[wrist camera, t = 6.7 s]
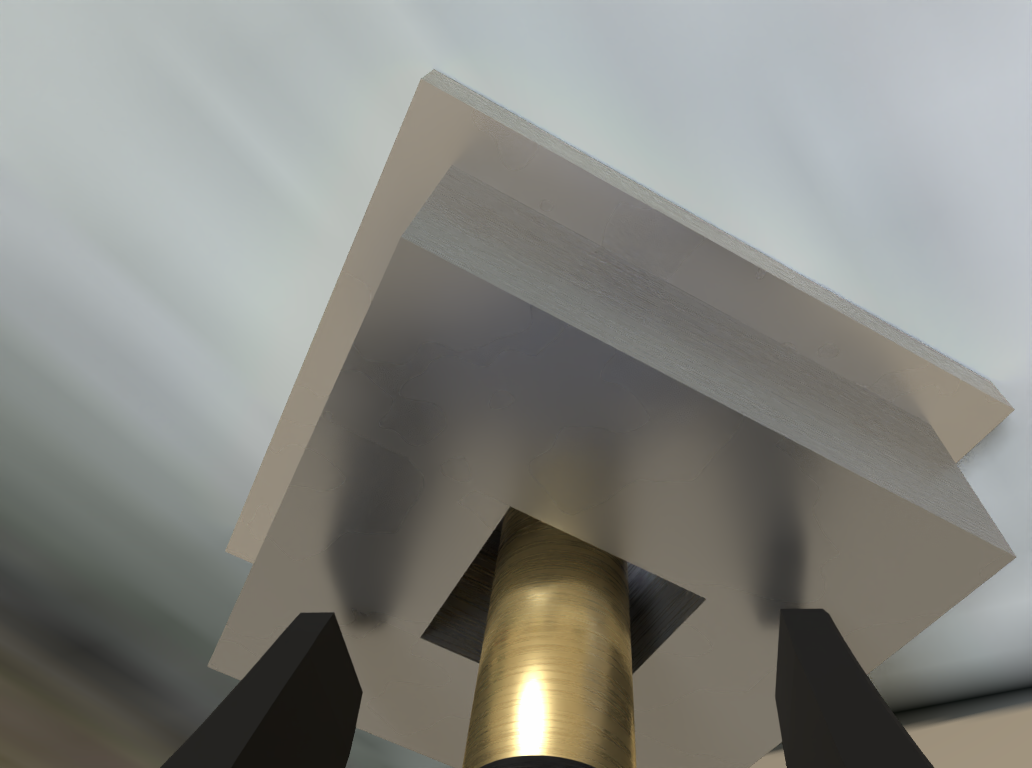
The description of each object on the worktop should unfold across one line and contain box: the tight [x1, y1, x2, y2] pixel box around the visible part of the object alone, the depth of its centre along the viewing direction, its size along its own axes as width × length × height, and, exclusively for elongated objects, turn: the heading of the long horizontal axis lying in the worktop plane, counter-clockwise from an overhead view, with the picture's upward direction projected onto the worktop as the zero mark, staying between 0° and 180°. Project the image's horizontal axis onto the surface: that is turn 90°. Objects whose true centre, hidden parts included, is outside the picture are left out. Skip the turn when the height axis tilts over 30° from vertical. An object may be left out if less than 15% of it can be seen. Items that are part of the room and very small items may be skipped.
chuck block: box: [207, 69, 1016, 768], centre depth 15 cm, size 12×12×4 cm
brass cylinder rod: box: [462, 506, 636, 768], centre depth 12 cm, size 2×2×8 cm
